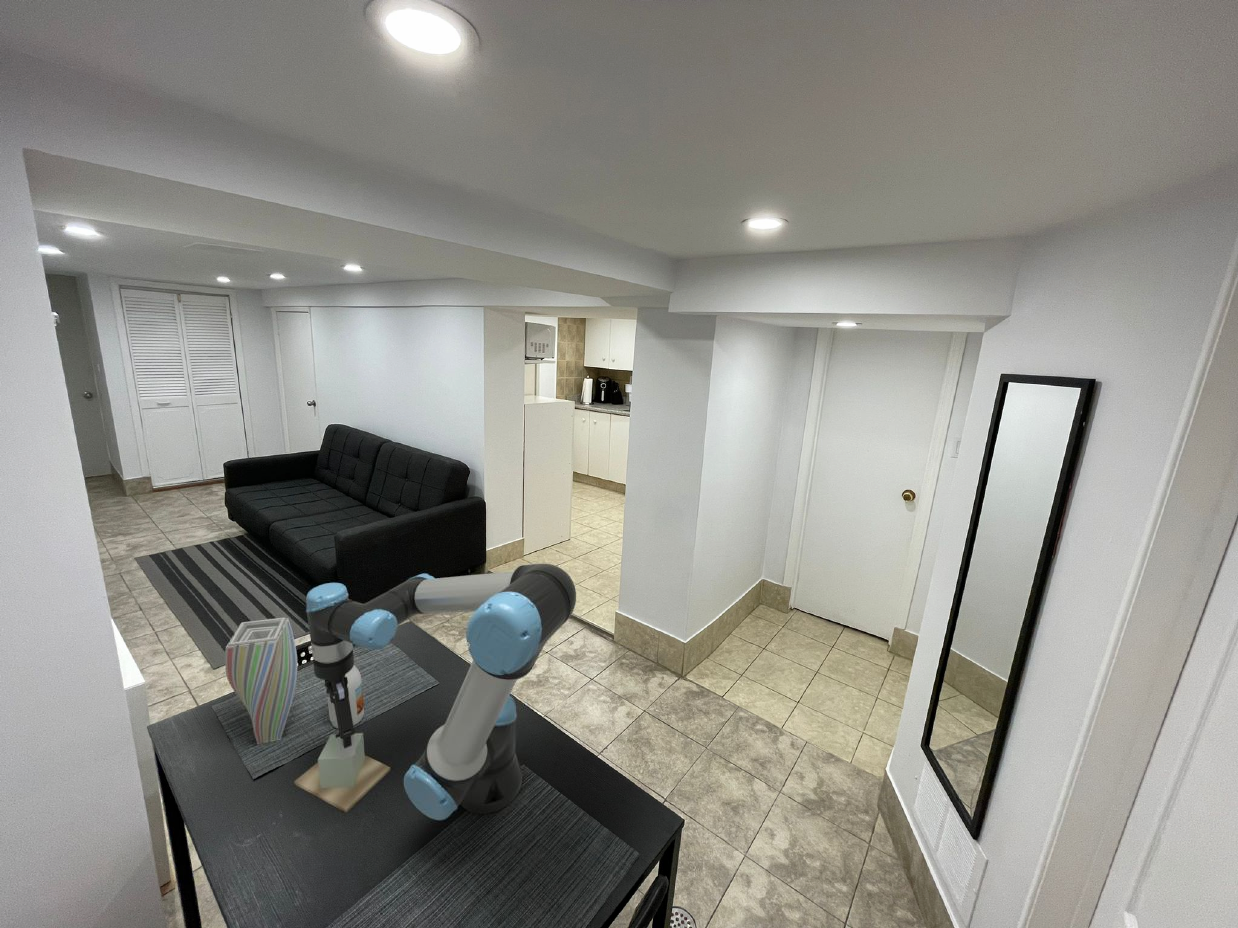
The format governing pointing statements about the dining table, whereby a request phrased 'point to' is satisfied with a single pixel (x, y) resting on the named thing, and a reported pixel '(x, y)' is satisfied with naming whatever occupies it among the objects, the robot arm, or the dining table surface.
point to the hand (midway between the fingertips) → (342, 736)
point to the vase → (264, 673)
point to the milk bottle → (354, 696)
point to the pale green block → (340, 763)
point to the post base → (344, 795)
